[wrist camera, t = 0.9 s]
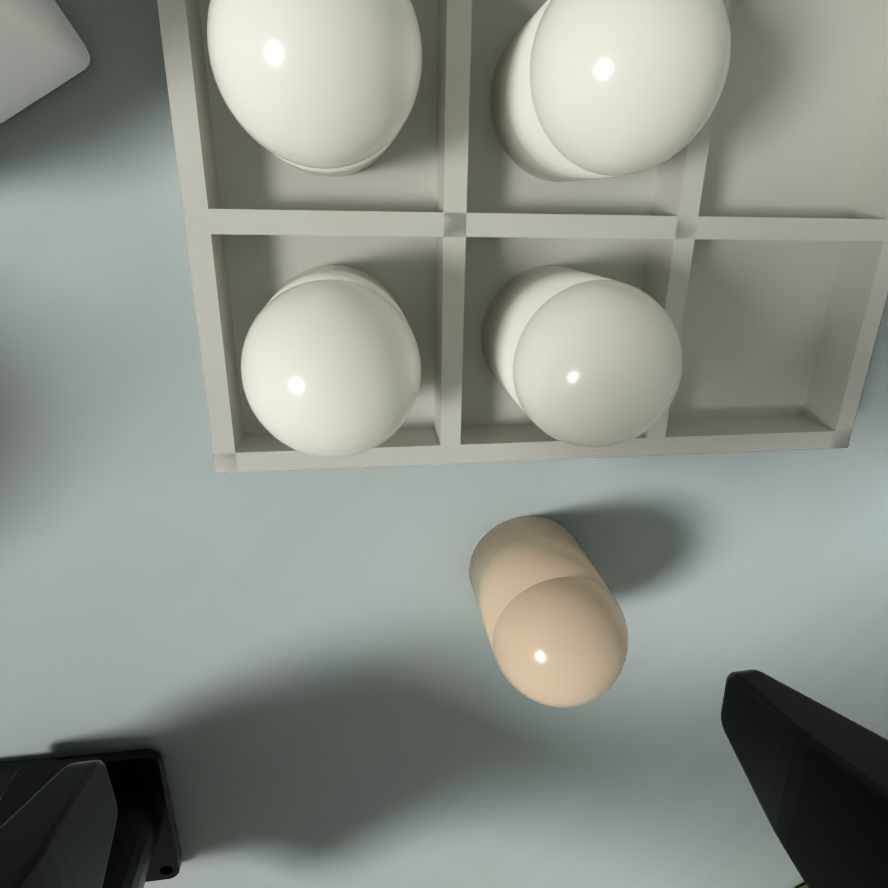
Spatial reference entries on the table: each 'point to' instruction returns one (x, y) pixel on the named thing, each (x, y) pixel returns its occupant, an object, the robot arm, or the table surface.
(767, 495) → the table surface
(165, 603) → the table surface
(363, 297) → the egg
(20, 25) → the medicine bottle
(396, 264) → the carton
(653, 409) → the egg
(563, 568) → the brown egg
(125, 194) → the table surface
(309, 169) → the egg
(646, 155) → the egg
